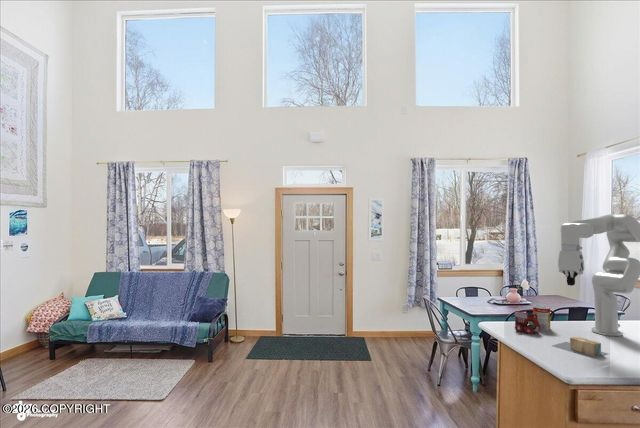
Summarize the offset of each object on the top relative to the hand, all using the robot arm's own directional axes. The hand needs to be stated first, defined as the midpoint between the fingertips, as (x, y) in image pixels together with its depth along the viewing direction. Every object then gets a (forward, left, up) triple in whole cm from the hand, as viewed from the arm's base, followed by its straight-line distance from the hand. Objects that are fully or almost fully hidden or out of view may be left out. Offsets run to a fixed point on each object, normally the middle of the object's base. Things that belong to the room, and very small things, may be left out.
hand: (570, 285), depth 179 cm
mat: (+13, +10, -27) cm, 32 cm away
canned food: (-5, -18, -27) cm, 33 cm away
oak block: (+13, +7, -24) cm, 28 cm away
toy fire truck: (+8, -18, -27) cm, 34 cm away
